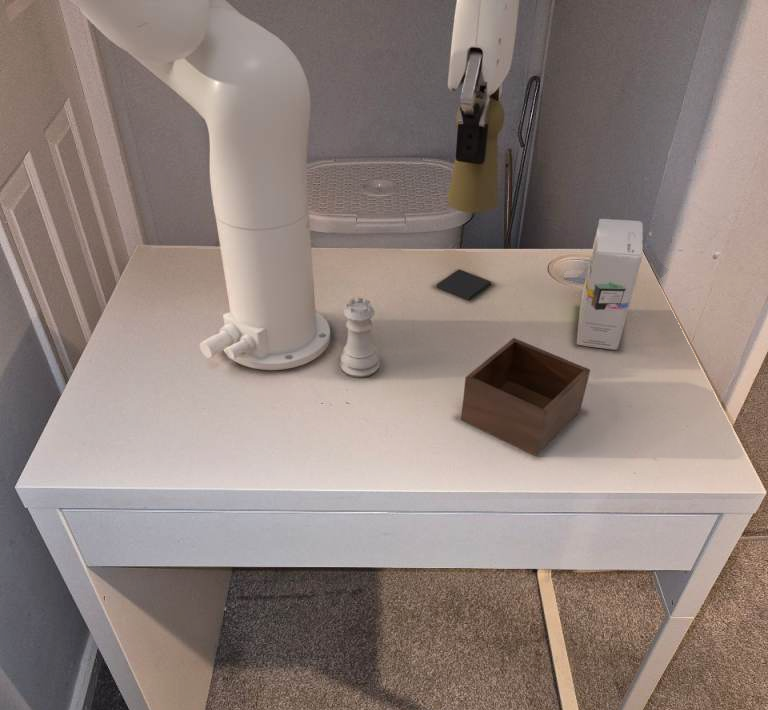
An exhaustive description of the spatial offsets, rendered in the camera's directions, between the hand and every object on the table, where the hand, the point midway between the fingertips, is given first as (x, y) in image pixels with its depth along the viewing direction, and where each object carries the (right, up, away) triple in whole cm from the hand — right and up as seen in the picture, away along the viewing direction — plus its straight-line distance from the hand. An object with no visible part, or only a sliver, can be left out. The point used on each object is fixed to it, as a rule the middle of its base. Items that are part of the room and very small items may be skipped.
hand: (476, 150), depth 85 cm
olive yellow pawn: (0, -4, +4) cm, 6 cm away
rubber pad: (0, -12, +12) cm, 17 cm away
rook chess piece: (-13, -25, 0) cm, 28 cm away
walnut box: (+4, -31, -6) cm, 31 cm away
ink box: (+15, -19, +6) cm, 25 cm away
